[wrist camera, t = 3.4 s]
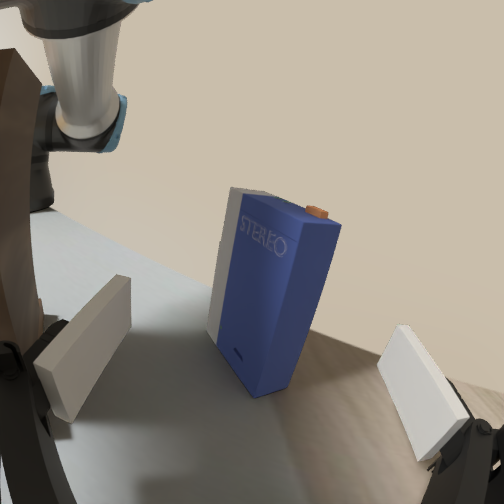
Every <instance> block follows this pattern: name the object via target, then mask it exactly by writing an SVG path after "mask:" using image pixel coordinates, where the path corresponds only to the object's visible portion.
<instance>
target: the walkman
mask: <svg viewBox="0 0 504 504" xmlns="http://www.w3.org/2000/svg"><path fill="white" fill-rule="evenodd" d="M327 217H328V212H327V211H324V210H322V209H319V208H317V207H315V206H307V207H306V209H305V208H303V207H301V206H298V205H296V204H294V203H291V202H289V201H287V200H284V199H282V198H279V197H277V196H274V195H272V194H269V193H267V192H265V191H257V190H248V189H243V188H234V187H231V188H230V192H229V198H228V203H227V209H226V215H225V221H224V227H223V232H222V239H221V241H220V245H219V250H218V256H217V263H216V269H215V276H214V282H213V289H212V296H211V302H210V309H209V316H208V323H207V332H208V334H209V335H210V337H211V338H212V340H213V341H214V343H215V345H216V346H217V347H218V349H219V350H220V352H221V353H222V354H223V356H224V357H225V359H226V360H227V362H228V363H229V365H230V366H231V367H232V369H233V370H234V372H235V373H236V375H237V376H238V377H239V379H240V380H241V381H242V383H243V384H244V386H245V387H246V388H247V390H248V391H249V392H250V394H251V395H252V397H253V398H257V397H260V396H263V395H266V394H269V393H272V392H275V391H278V390H281V389H284V388H287V387H288V384H289V382H290V379H291V377H292V374H293V372H294V369H295V366H296V364H297V361H298V359H299V356H300V353H301V351H302V348H303V345H304V342H305V340H306V337H307V334H308V331H309V329H310V326H311V323H312V320H313V317H314V314H315V311H316V308H317V305H318V302H319V299H320V296H321V293H322V290H323V287H324V284H325V281H326V277H327V274H328V271H329V267H330V264H331V261H332V258H333V254H334V251H335V247H336V244H337V240H338V237H339V233H340V229H341V226H342V225H341V224H339V223H337V222H335V221H332V220H330V219H328V218H327Z"/></svg>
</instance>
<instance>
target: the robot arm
mask: <svg viewBox="0 0 504 504" xmlns="http://www.w3.org/2000/svg"><path fill="white" fill-rule="evenodd" d="M150 1H152V0H0V9H4V8H9V7H14V6H16V7H18V8H19V10H20V14H21V18H22V22H23V25H24V28H25V29H26V31H27V32H28V33H29V34H30V35H32V36H34V37H36V38H38V39H41V40H43V44H44V48H45V53H46V57H47V61H48V65H49V69H50V73H51V76H52V80H53V83H54V86H50V85H48V86H42V88H41V93H40V98H39V103H38V109H37V114H36V121H35V128H34V136H33V144H32V155H31V169H30V212H31V211H36V210H40V209H43V208H46V207H49V206H51V205H52V204H53V203H54V190H53V188H52V184H51V178H50V173H49V168H48V158H49V152H55V151H69V152H70V151H71V152H96V153H103V152H112V151H114V150H115V149H116V147H117V145H118V143H119V140H120V134H121V132H122V129H123V125H124V120H125V115H126V108H127V98H126V97H125V96H123V95H120V94H117V92H116V90H115V89H114V88H113V86H112V82H113V72H114V65H115V57H116V50H117V43H118V37H119V31H120V26H121V21H122V20H123V19H125V18H126V17H128V16H129V15H130V14H131V13H132V12H133V11H134V10H135V9H136V8H137V7H138V5H139V4H140V3H142V2H150ZM130 328H131V278H129V277H125V276H121V275H117V274H116V275H115V276H114V277H113V278H112V279H111V280H110V281H109V282H108V283H107V284H106V285H105V286H104V287H103V288H102V289H101V290H100V291H99V292H98V293H97V294H96V295H95V296H94V297H93V298H92V299H91V300H90V301H89V302H88V303H87V304H86V305H85V306H84V307H83V308H82V309H81V310H80V311H79V312H78V313H77V314H76V316H75V317H74V318H73V319H72V320H71V321H70V322H69V321H66V320H64V319H62V320H60V321H58V322H56V323H54V324H52V325H51V326H50V327H49V328H48V329H47V330H46V331H45V333H43V334H42V335H41V336H40V337H39V339H37V340H36V341H35V343H34V344H33V345H32V346H31V347H30V348H29V349H28V350H27V351H26V352H25V353H24V354H23V356H22V354H21V351H20V348H19V346H18V345H17V344H16V343H14V342H12V341H6V340H3V341H0V466H1V456H2V462H3V467H4V471H5V476H6V480H7V484H8V488H9V492H10V496H11V499H12V502H13V504H77V503H76V500H75V498H74V496H73V493H72V491H71V488H70V486H69V483H68V481H67V478H66V475H65V473H64V470H63V467H62V464H61V461H60V458H59V455H58V452H57V448H56V445H55V442H54V438H53V434H52V431H51V427H50V423H49V419H48V416H47V414H46V413H47V411H48V410H49V408H50V407H51V409H52V411H53V413H54V415H55V416H56V417H58V418H60V419H62V420H64V421H66V422H69V423H71V424H72V423H73V421H74V419H75V418H76V416H77V414H78V412H79V411H80V409H81V407H82V405H83V404H84V402H85V400H86V398H87V397H88V395H89V393H90V392H91V390H92V388H93V387H94V385H95V383H96V382H97V380H98V378H99V377H100V375H101V373H102V372H103V370H104V368H105V367H106V365H107V364H108V362H109V360H110V359H111V357H112V356H113V354H114V352H115V351H116V349H117V348H118V346H119V345H120V343H121V341H122V340H123V338H124V337H125V335H126V334H127V332H128V331H129V329H130ZM377 367H378V369H379V371H380V373H381V375H382V377H383V380H384V382H385V384H386V386H387V388H388V391H389V393H390V395H391V397H392V400H393V402H394V404H395V407H396V409H397V411H398V414H399V416H400V418H401V421H402V423H403V425H404V428H405V430H406V433H407V435H408V438H409V440H410V443H411V445H412V448H413V450H414V453H415V455H416V458H417V461H418V462H419V461H423V460H427V459H431V458H432V457H433V456H434V455H435V454H436V453H437V452H438V451H439V450H440V452H441V456H440V457H439V458H438V459H437V460H436V461H435V462H434V463H433V464H431V465H430V466H429V467H428V469H427V471H429V470H430V469H431V468H432V467H434V466H435V468H434V470H433V471H432V473H433V474H432V477H431V479H430V482H429V485H428V487H427V490H426V492H425V495H424V497H423V500H422V502H421V504H504V425H503V426H502V427H501V428H500V429H492V427H491V425H490V424H489V423H488V422H487V421H485V420H483V419H476V420H475V418H474V417H473V415H472V413H471V412H470V410H469V408H468V407H467V405H466V404H465V402H464V400H463V399H461V396H460V394H459V393H457V389H456V388H455V386H454V385H453V383H452V382H451V381H449V380H448V379H447V378H446V377H445V376H444V375H443V373H442V372H441V370H440V369H439V367H438V366H437V364H436V363H435V361H434V360H433V358H432V357H431V356H430V354H429V353H428V351H427V350H426V348H425V347H424V346H423V344H422V343H421V341H420V340H419V339H418V337H417V336H416V334H415V333H414V332H413V330H412V329H411V328H410V326H409V325H403V324H397V326H396V328H395V330H394V332H393V334H392V336H391V339H390V340H389V342H388V344H387V346H386V348H385V350H384V352H383V354H382V356H381V358H380V360H379V362H378V364H377ZM499 460H500V462H501V465H500V466H499V467H498V468H496V469H495V470H494V471H493V466H494V465H495V464H496V463H497V462H498V461H499ZM0 504H1V490H0Z"/></svg>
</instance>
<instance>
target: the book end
mask: <svg viewBox="0 0 504 504" xmlns="http://www.w3.org/2000/svg"><path fill="white" fill-rule="evenodd" d="M41 88H42V83H41V82H40V81H39V79H38V78H37V77H36V76H35V74H34V73H33V72H32V70H31V69H30V68H29V67H28V65H27V64H26V63H25V61H24V60H23V59H22V58H21V56H20V55H19V53H18V52H17V51H16V49H15V48H11V49H2V50H0V341H3V340H6V341H12V342H14V343H16V344H17V345H18V346H19V348H20V351H21V354H22V356H23V354H24V353H25V352H26V351H27V350H28V349H29V348H30V347H31V346H32V345H33V344H34V343H35V341H36V340H37V339H39V337H40V336H41V335H42V334H43V320H44V312H43V307H42V301H41V298H40V299H38V295H37V289H36V282H35V275H34V267H33V258H32V247H31V232H30V169H31V155H32V144H33V136H34V128H35V121H36V114H37V109H38V103H39V98H40V93H41ZM46 414H47V413H46Z"/></svg>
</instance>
